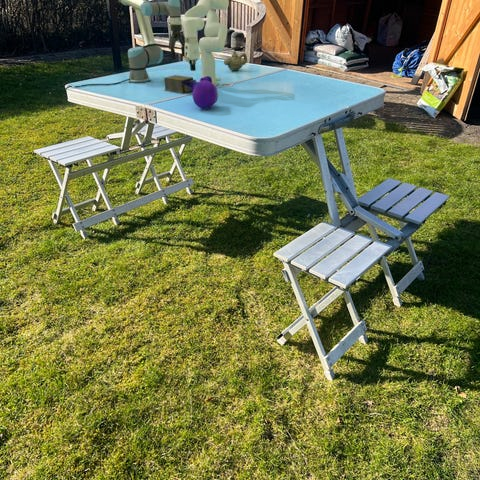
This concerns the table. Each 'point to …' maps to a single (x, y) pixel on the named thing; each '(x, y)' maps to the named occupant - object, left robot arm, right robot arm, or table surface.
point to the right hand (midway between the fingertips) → (193, 70)
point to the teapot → (235, 61)
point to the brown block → (175, 83)
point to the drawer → (187, 88)
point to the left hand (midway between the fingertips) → (178, 58)
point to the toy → (203, 92)
